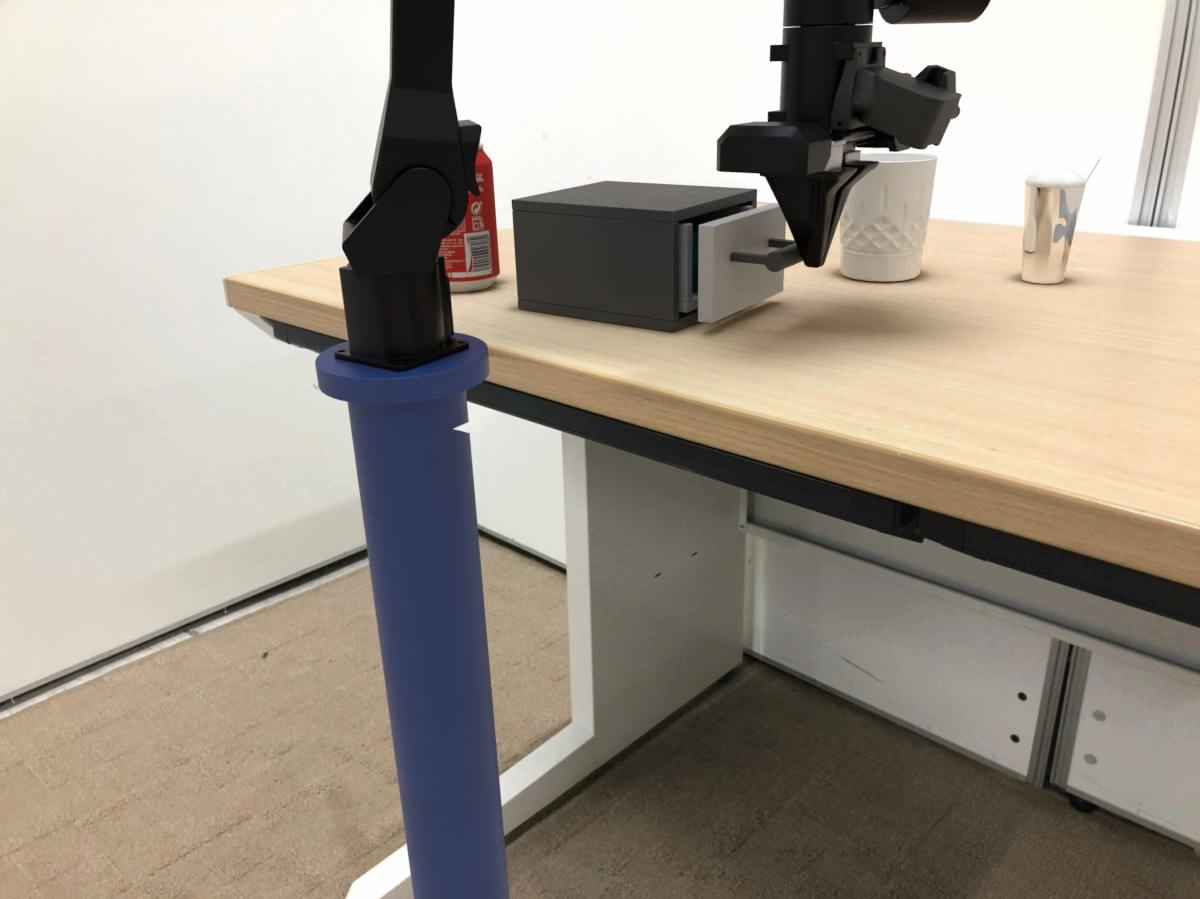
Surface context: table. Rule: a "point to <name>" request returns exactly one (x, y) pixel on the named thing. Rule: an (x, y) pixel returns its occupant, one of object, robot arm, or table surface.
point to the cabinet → (610, 249)
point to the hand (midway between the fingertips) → (814, 266)
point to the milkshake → (1050, 222)
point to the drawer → (734, 259)
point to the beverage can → (474, 236)
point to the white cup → (887, 217)
